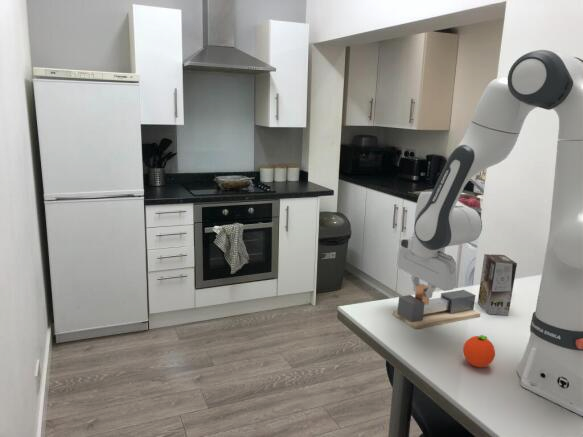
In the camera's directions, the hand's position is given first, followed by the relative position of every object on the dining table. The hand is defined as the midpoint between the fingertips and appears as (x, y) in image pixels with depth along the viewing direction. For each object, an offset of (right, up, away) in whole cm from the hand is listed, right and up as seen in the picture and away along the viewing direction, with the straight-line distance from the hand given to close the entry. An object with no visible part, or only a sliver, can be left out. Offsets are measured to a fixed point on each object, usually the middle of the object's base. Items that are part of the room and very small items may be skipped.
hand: (422, 294), depth 133 cm
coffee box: (+25, -7, +12) cm, 28 cm away
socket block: (-4, -6, 0) cm, 7 cm away
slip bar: (+3, -5, +3) cm, 6 cm away
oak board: (+5, -7, +4) cm, 10 cm away
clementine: (+7, -13, -22) cm, 26 cm away
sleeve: (+12, -5, +7) cm, 15 cm away
